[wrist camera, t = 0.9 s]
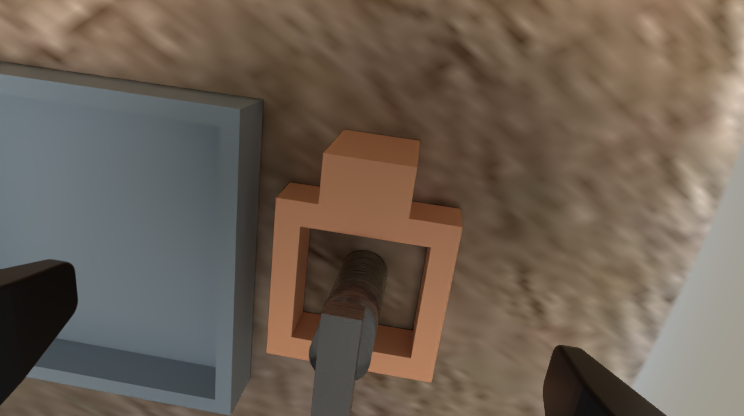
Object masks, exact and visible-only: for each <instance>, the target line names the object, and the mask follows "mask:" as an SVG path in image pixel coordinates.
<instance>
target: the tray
mask: <svg viewBox="0 0 744 416" xmlns="http://www.w3.org/2000/svg"><path fill="white" fill-rule="evenodd" d="M262 116H263V100H262V99H255V98H248V97H241V96H235V95H228V94H221V93H214V92H207V91H200V90H193V89H186V88H179V87H173V86H166V85H159V84H152V83H145V82H138V81H131V80H124V79H117V78H111V77H104V76H97V75H90V74H83V73H76V72H69V71H62V70H55V69H49V68H42V67H35V66H28V65H21V64H14V63H7V62H0V269H4V268H8V267H13V266H18V265H23V264H27V263H32V262H37V261H42V260H46V259H54V260H60V261H66V262H70V263H71V264H72V265H73V266H74V268H75V273H76V283H77V293H78V305H77V309H76V311H75V313H74V315H73V316H72V317H71V319H70V320H69V321H68V323H67V324H66V325H65V327H64V328H63V329H62V330H61V332H60V333H59V334H58V336H57V337H56V338H55V340H54V341H53V342H52V344H51V345H50V346H49V348H48V349H47V350H46V351H45V353H44V354H43V355H42V357H41V358H40V359H39V361H38V362H37V363H36V365H35V366H34V367H33V368H32V370H31V371H30V372H29V373H28V375H27V376H26V377H29V378H35V379H40V380H45V381H50V382H56V383H61V384H66V385H72V386H77V387H82V388H87V389H93V390H98V391H103V392H108V393H114V394H119V395H124V396H130V397H135V398H140V399H145V400H151V401H156V402H161V403H167V404H172V405H177V406H182V407H188V408H193V409H198V410H204V411H209V412H214V413H219V414H225V415H231V413H232V411H233V410H234V408H235V406H236V404H237V402H238V400H239V398H240V396H241V394H242V393H243V391H244V389H245V387H246V385H247V383H248V381H249V379H250V369H251V348H252V327H253V305H254V284H255V263H256V242H257V221H258V200H259V179H260V158H261V137H262Z"/></svg>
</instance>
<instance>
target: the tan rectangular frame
mask: <svg viewBox="0 0 744 416" xmlns="http://www.w3.org/2000/svg"><path fill="white" fill-rule="evenodd" d="M419 149H420V141H419V140H412V139H405V138H398V137H392V136H385V135H378V134H371V133H364V132H358V131H351V130H344V131H343V132H342V133H341V134H340V135H339V136H338V137H337V138H336V139H335V141H334V142H333V143H332V144H331V145H330V146H329V147H328V148H327V150H326V151H325V152H324V153H323V161H322V172H321V183H320V187H317V186H310V185H304V184H298V183H291V182H290V183H289V184H288V185H287V186H286V187H285V189H284V190H283V191H282V192H281V193H280V194H279V195H278V196H277V197H276V205H275V221H274V238H273V254H272V271H271V288H270V304H269V321H268V337H267V353H269V354H275V355H280V356H286V357H291V358H297V359H303V360H308V361H310V360H309V348H310V345H311V342H312V340H313V337H314V335H315V332H316V330H317V327H318V325H319V322H320V319H321V315H319V314H313V313H308V312H303V307H304V295H305V284H306V273H307V261H308V250H309V238H310V228H313V229H319V230H325V231H332V232H338V233H344V234H350V235H356V236H362V237H369V238H375V239H381V240H387V241H393V242H400V243H406V244H412V245H418V246H424V247H428V249H427V255H426V260H425V266H424V271H423V277H422V283H421V288H420V294H419V299H418V305H417V310H416V316H415V322H414V327H413V331H411V330H406V329H400V328H394V327H388V326H383V325H378V326H377V331H376V336H375V341H374V347H373V352H372V357H371V362H370V366H369V369H368V371H369V372H375V373H380V374H386V375H392V376H397V377H403V378H408V379H414V380H419V381H425V382H430V383H431V382H432V377H433V372H434V367H435V362H436V357H437V352H438V347H439V342H440V337H441V332H442V327H443V323H444V318H445V313H446V308H447V303H448V298H449V293H450V288H451V283H452V278H453V273H454V268H455V264H456V259H457V254H458V249H459V244H460V239H461V234H462V229H463V225H462V218H461V211H460V209H458V208H452V207H445V206H439V205H432V204H426V203H419V202H413V201H412V197H413V191H414V185H415V179H416V173H417V166H418V158H419Z"/></svg>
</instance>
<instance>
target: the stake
mask: <svg viewBox="0 0 744 416" xmlns="http://www.w3.org/2000/svg"><path fill="white" fill-rule="evenodd" d="M386 278H387V267H386V265H385V263H384V261H383V260H382V259H381V258H380V257H379V256H378V255H376V254H375V253H373V252H370V251H356V252H353V253H351V254H350V255H348V256H347V257H346V258H345V260H344V261H343V263H342V266H341V268H340V271H339V274H338V276H337V279H336V281H335V284H334V286H333V289H332V291H331V294H330V296H329V299H328V300H326V303H325V305H324V308H323V310H322V313H321V319H320V322H319V325H318V327H317V330H316V332H315V335H314V337H313V340H312V342H311V345H310V348H309V360H310V363H311V365H312V367H313V368H314V370H315V379H314V389H313V399H312V408H311V416H350V413H351V408H352V401H353V393H354V386H355V381H356V380H358V379H360V378H361V377H363V376H364V375H365V373H366V372H367V371H368V369H369V366H370V362H371V357H372V352H373V347H374V341H375V336H376V331H377V326H378V320H379V315H380V310H381V305H382V299H383V294H384V289H385V284H386Z"/></svg>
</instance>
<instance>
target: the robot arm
mask: <svg viewBox="0 0 744 416" xmlns="http://www.w3.org/2000/svg"><path fill="white" fill-rule="evenodd" d="M77 305H78V293H77V283H76V273H75V268H74V266H73V265H72V264H71V263H70V262H66V261H60V260H54V259H46V260H42V261H37V262H32V263H27V264H23V265H18V266H13V267H8V268H4V269H0V405H1V404H2V403H3V402H4V401H5V400H6V399H7V398H8V396H9V395H10V394H11V393H12V392H13V391H14V390H15V389H16V388H17V386H18V385H19V384H20V383H21V382H22V381H23V380H24V378H25V377H26V376H27V375H28V373H29V372H30V371H31V370H32V368H33V367H34V366H35V365H36V363H37V362H38V361H39V359H40V358H41V357H42V355H43V354H44V353H45V351H46V350H47V349H48V348H49V346H50V345H51V344H52V342H53V341H54V340H55V338H56V337H57V336H58V334H59V333H60V332H61V330H62V329H63V328H64V327H65V325H66V324H67V323H68V321H69V320H70V319H71V317H72V316H73V315H74V313H75V311H76V309H77ZM543 401H544V409H545V416H666V415H665V414H663V412H661V411H660V410H659V409H657V408H656V407H655V406H654V405H652V404H651V403H650V402H649V401H647V400H646V399H645V398H643V397H642V396H641V395H639V394H638V393H637V392H636V391H635V390H633V389H632V388H631V387H629V386H628V385H627V384H626V383H624V382H623V381H622V380H620V379H619V378H618V377H617V376H615V375H614V374H613V373H612V372H610V371H609V370H608V369H606V368H605V367H604V366H603V365H601V364H600V363H599V362H598V361H596V360H595V359H594V358H592V357H591V356H590V355H589V354H587V353H586V352H585V351H584V350H582V349H580V348H577V347H571V346H565V345H558V346H556V347H555V349H554V350H553V353H552V356H551V360H550V363H549V367H548V370H547V373H546V377H545V380H544V385H543Z"/></svg>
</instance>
